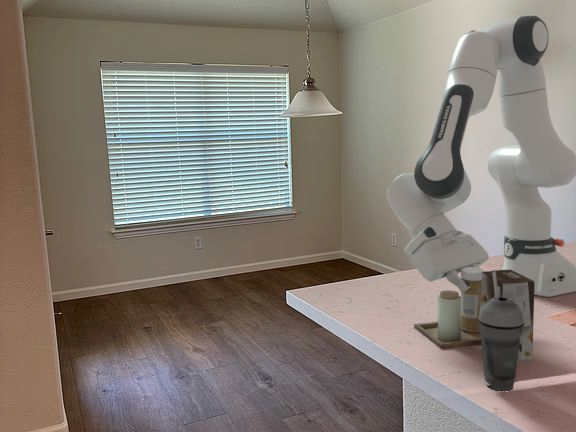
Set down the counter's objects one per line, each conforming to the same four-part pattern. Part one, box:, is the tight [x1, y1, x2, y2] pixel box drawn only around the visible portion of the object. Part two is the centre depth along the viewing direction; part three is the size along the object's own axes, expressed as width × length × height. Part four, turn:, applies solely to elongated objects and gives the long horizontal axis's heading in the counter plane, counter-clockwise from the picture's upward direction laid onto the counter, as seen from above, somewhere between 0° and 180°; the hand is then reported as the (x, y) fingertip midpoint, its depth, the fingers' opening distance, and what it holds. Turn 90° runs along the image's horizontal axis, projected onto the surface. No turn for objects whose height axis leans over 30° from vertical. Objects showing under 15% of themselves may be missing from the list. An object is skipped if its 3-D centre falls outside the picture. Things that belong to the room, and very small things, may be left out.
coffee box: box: [480, 269, 535, 363], centre depth 100 cm, size 9×6×16 cm
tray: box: [413, 320, 481, 350], centre depth 111 cm, size 16×12×2 cm
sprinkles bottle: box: [460, 267, 485, 333], centre depth 111 cm, size 5×5×13 cm
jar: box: [437, 290, 461, 342], centre depth 107 cm, size 5×5×10 cm
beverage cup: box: [478, 270, 524, 393], centre depth 88 cm, size 7×7×20 cm
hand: (474, 287), depth 110 cm, fingers closed on sprinkles bottle, 4 cm apart
